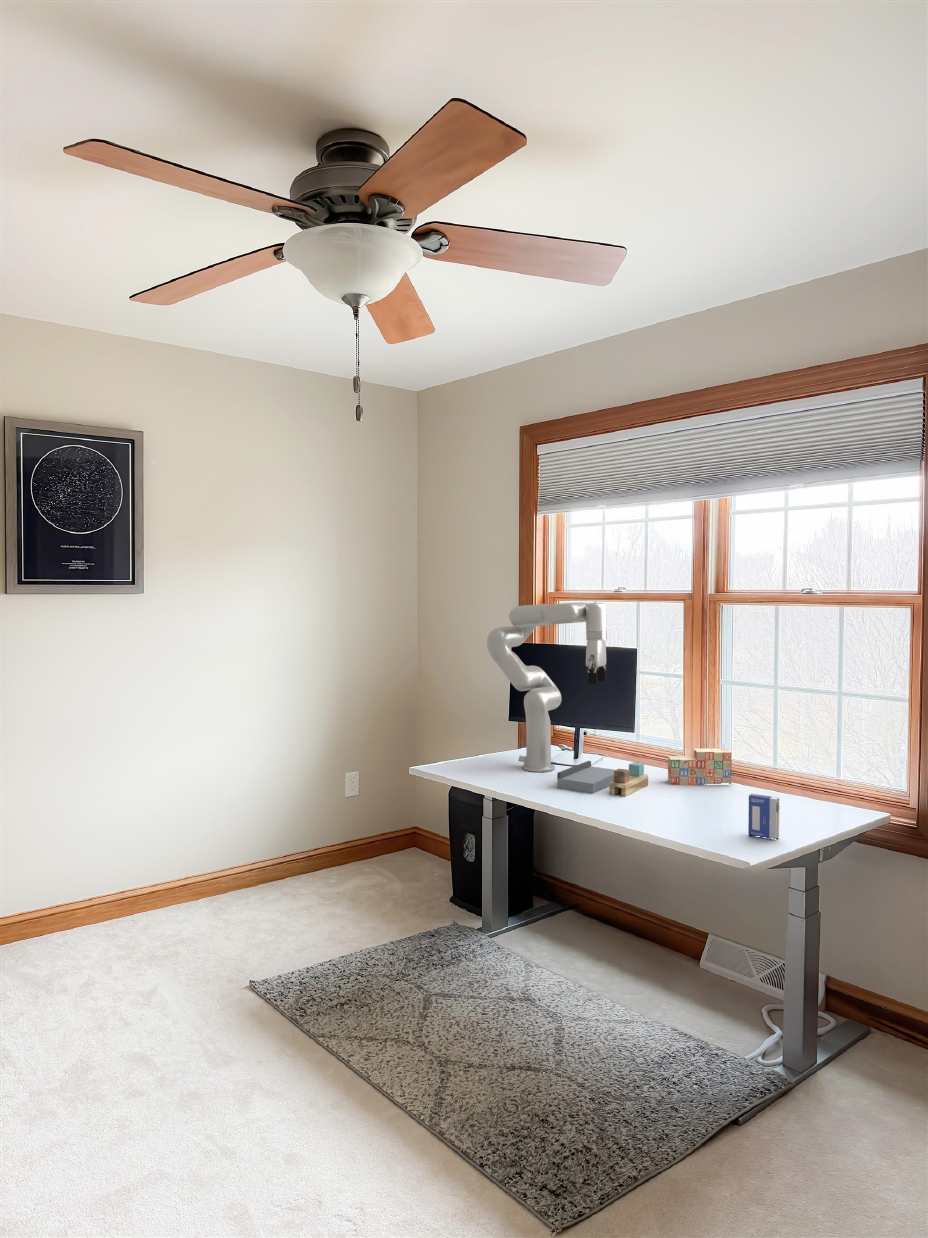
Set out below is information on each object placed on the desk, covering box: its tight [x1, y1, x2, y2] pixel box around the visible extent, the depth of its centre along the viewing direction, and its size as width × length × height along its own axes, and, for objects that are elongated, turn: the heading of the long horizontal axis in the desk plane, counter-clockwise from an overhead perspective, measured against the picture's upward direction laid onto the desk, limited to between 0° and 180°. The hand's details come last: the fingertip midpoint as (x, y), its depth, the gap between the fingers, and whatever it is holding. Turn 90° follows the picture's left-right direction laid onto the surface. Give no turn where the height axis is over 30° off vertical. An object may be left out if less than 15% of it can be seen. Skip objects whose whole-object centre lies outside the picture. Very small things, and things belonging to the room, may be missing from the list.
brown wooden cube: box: [614, 768, 630, 784], centre depth 286 cm, size 4×4×4 cm
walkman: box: [747, 793, 780, 839], centre depth 236 cm, size 8×3×12 cm, turn 55°
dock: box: [556, 760, 615, 795], centre depth 300 cm, size 14×24×6 cm, turn 145°
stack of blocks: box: [667, 747, 733, 786], centre depth 300 cm, size 21×6×12 cm, turn 85°
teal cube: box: [628, 761, 645, 777], centre depth 296 cm, size 4×4×4 cm
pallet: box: [609, 773, 649, 798], centre depth 291 cm, size 6×19×4 cm, turn 145°
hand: (597, 682), depth 308 cm, fingers open, 9 cm apart
